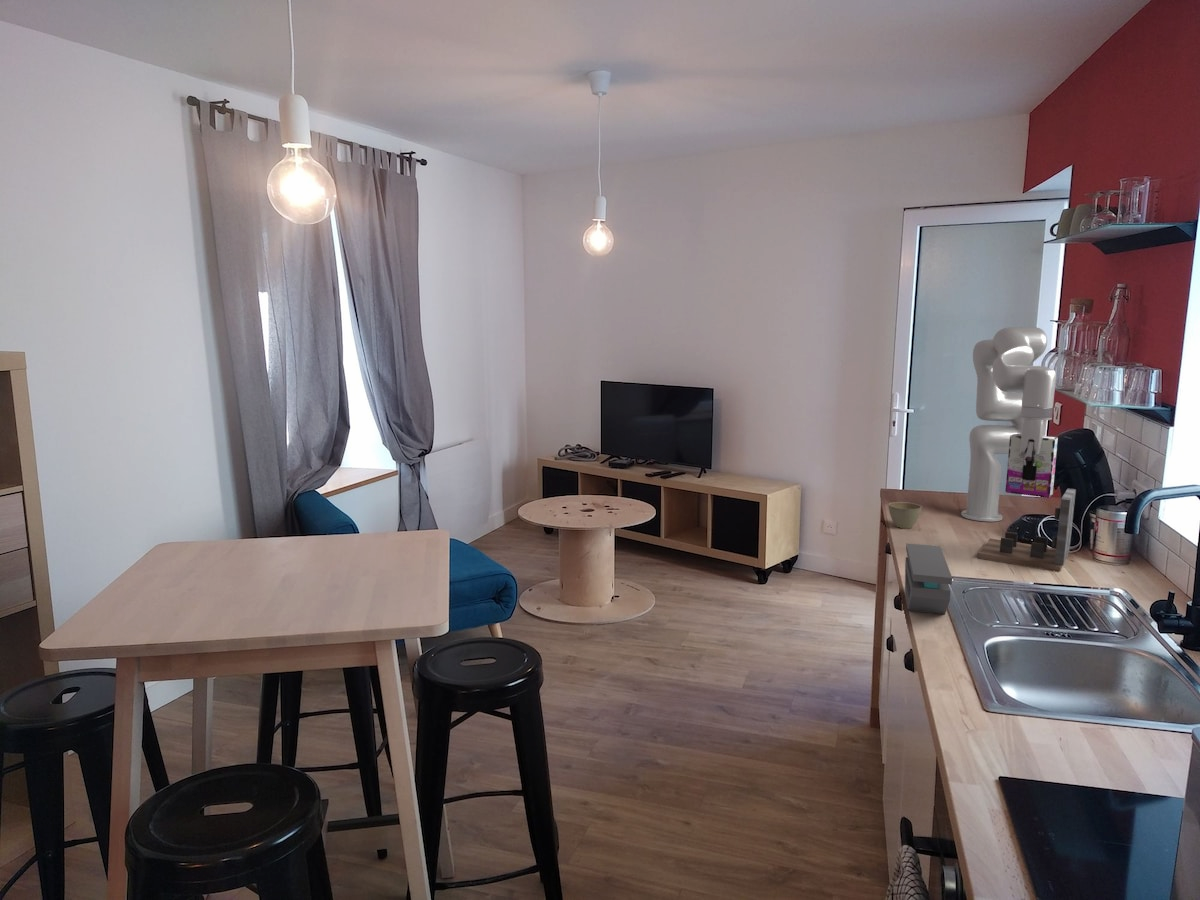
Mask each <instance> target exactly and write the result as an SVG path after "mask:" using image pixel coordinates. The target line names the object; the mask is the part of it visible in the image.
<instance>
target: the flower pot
mask: <svg viewBox="0 0 1200 900" xmlns="http://www.w3.org/2000/svg"><path fill="white" fill-rule="evenodd" d="M922 508H923V506H922V505H920V504H917V503H913V502H903V501H898V502H897V501H895V502H889V503H888V510H889V514H890V518H891V520H892V522H893V524H894V526H895V527H896V526H897V527H896V528H898V527H900V528H899V529H903V528H910V529H912V528H914V526H915V525H916V523H917V522H918V520H919V518H920V515H921V512H922Z"/></svg>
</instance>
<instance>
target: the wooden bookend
mask: <svg viewBox="0 0 1200 900" xmlns="http://www.w3.org/2000/svg"><path fill="white" fill-rule="evenodd" d="M1076 494H1077V489H1075V488H1069V487H1068V488H1067V489H1066V490H1065V492H1064V494H1063V495H1062V497H1061V499H1060V506H1059V507H1055V509H1054V510H1055V511H1054V520H1056V521H1058V525H1057V526H1058V527H1057V535H1056V536H1052V539H1051V547H1050V546H1049V547H1048V540H1049V537H1048V536H1047V537H1046V536H1041V535H1040V536H1039V535H1035V537H1034V542H1033V541H1031V544H1030V543H1024V542H1023V543H1022V542H1018V537H1019V536H1018V534H1019V533H1018V532H1013V531H1005V533H1004V537H1000V539H995V538H989V539H988V540H987V541H986V543H985V544H984V545H983V546H982V547H981V548H980V550H979V551H978V552H977V559H981V560H988V561H994V562H997V563H998V562H1000V563H1005V564H1012V565H1017V566H1023V567H1029V568H1035V569H1040V570H1046V569H1047V571H1052V570H1055V571H1054V572H1058V571H1060V572H1061V570H1062V568H1063V566H1064V565H1065V562H1066V560H1067V558H1068V555H1069V554H1070V548H1071V540H1072V530H1073V523H1074V522H1073V520H1074V513H1075V512H1074V511H1075V501H1076Z"/></svg>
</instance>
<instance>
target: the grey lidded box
mask: <svg viewBox="0 0 1200 900" xmlns="http://www.w3.org/2000/svg"><path fill="white" fill-rule="evenodd" d="M905 550H906V551H905V552H906V556H907V557H905V561H904V563H905V564H904V566H905V567H904V596H905V599H906V600H905V601H906V605H907V606H906V607H907V611H911V612H912V611H913V612H923V613H930V614H939V615H946V613H947V610H948V607H949V604H950V601H951V588H950V586H952V585H953V576H952V574H951V571H950V568H949V566H948V563H947V561H946V560H947V559H946V558H945V555H944V553H943V550H942V547H941V545H932V544H920V543H906V545H905Z"/></svg>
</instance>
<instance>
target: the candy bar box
mask: <svg viewBox="0 0 1200 900" xmlns="http://www.w3.org/2000/svg"><path fill="white" fill-rule="evenodd" d="M1058 439H1059V438H1058V436H1057V437H1056V436H1048V435H1047V436H1046V435H1045V437H1044V438H1043V441H1042V447H1041V451H1040V455H1038V456H1037V459H1036V466H1037V469H1036V479H1035V480H1034V481H1032V480H1023V479H1022V473H1023V465H1024V459H1025V452H1026V450H1025V452H1024V453H1023V454H1020V453H1019V450H1020V443H1021V435H1020V434H1013V435H1011V436H1010V442H1009V454H1007V455H1008V457H1007V469H1006V478H1005V479H1006V483H1005V493H1007V494H1013V495H1014V494H1015V495H1023V496H1032V497H1039V498H1046V499H1047V498H1049V499H1050V498H1051V497H1052V496H1053V494H1054V485H1055V484H1054V483H1055V473H1056V461H1057V452H1058V441H1059V440H1058ZM1035 451H1036V450H1035ZM1032 455H1035V453H1032ZM1033 459H1034V457H1033Z"/></svg>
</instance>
